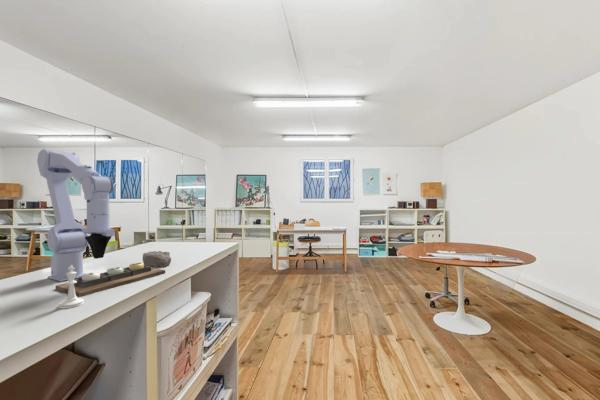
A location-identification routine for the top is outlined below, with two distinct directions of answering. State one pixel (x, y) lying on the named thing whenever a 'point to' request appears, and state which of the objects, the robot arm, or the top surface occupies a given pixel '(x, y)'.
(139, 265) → the button three
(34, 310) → the top surface
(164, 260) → the stone
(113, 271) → the button two
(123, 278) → the button board
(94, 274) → the button one
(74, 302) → the chess piece
